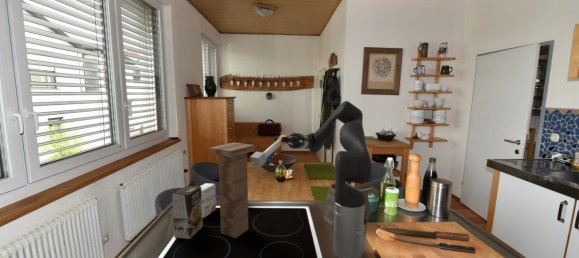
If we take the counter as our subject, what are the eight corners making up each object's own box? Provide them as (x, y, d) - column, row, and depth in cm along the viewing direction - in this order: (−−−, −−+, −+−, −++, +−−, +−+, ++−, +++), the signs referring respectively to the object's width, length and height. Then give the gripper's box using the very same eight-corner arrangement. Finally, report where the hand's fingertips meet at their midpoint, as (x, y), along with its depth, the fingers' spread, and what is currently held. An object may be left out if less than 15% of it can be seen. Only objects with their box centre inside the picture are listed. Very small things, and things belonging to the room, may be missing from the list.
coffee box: (190, 239, 93) (188, 195, 90) (173, 237, 94) (171, 193, 92) (203, 226, 101) (201, 186, 99) (188, 224, 103) (186, 184, 101)
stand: (255, 227, 101) (254, 145, 96) (233, 243, 91) (231, 151, 86) (235, 221, 106) (233, 142, 101) (212, 234, 96) (209, 147, 91)
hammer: (281, 139, 120) (279, 131, 119) (289, 140, 118) (287, 132, 117) (252, 165, 104) (250, 156, 102) (260, 167, 102) (258, 158, 100)
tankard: (322, 225, 103) (323, 188, 101) (327, 211, 115) (328, 178, 113) (376, 233, 98) (378, 194, 96) (376, 218, 110) (378, 183, 107)
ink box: (207, 207, 118) (206, 182, 116) (216, 209, 116) (215, 183, 115) (194, 216, 110) (192, 188, 108) (204, 218, 108) (202, 190, 107)
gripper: (286, 132, 133) (266, 129, 119) (311, 134, 126) (293, 131, 111) (285, 147, 133) (264, 146, 118) (310, 150, 126) (291, 149, 111)
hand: (279, 139), depth 115 cm, fingers closed on hammer, 3 cm apart
